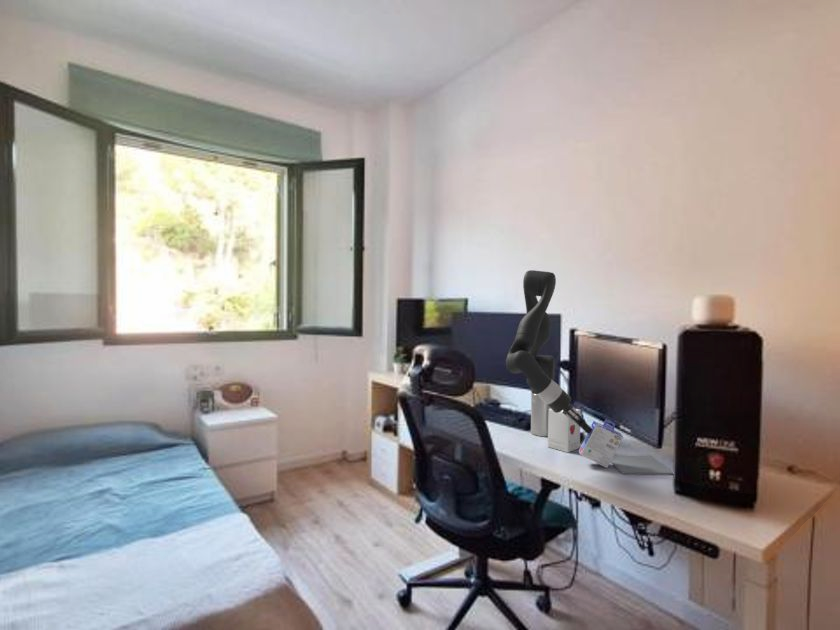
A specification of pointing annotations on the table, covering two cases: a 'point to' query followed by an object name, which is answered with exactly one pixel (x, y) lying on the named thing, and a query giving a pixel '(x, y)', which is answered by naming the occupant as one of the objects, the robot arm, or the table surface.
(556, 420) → the supplement box
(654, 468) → the mat
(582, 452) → the ink cartridge box
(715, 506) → the table surface
